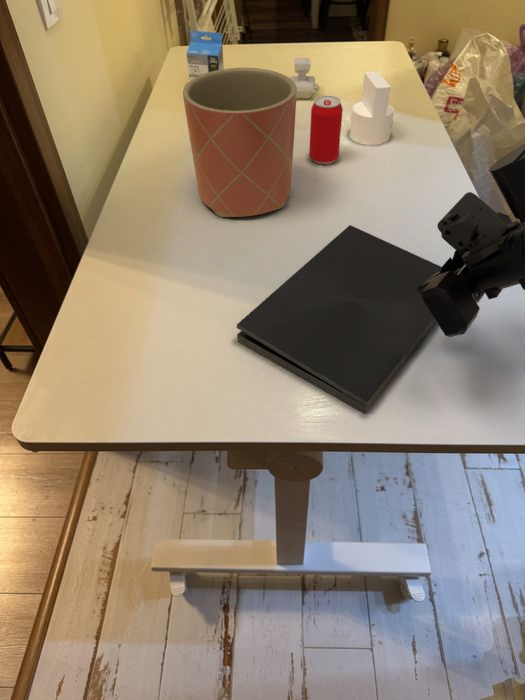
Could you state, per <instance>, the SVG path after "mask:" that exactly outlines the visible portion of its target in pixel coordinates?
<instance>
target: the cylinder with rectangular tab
mask: <svg viewBox="0 0 525 700" xmlns="http://www.w3.org/2000/svg"><path fill="white" fill-rule="evenodd" d="M390 93H391V86H390V84H389V83H388V82H387V80H386V79H385V78H384V77H383V75H382V74H381V73H380V72H379V71H366V72H364V75H363V84H362V92H361V99H360V101H358V102H356V103H354V104H353V106H352V110H351V117H350V127H349V139H351V140H352V141H354V142H355V143H358V144H360V145H361V144H362V145H364V146H365V145H366V146H377V145H382V144H385V143H387V142H388V141H389V140H390V137H391V131H392V125H393V119H394V113H395V108H394V106H392V105H391V104H390V103H389V101H390V100H389V99H390Z"/></svg>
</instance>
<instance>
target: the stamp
mask: <svg viewBox="0 0 525 700" xmlns="http://www.w3.org/2000/svg"><path fill="white" fill-rule="evenodd" d="M310 70H311V57H294V73H295V74H297V75H290V77H289V78H290V79H291V80H293V82H294V83H295V85H296V88H297V95H296V99H310V98H311V97H312V95H313V94H314V93H315V92H316V91H318V90H320V85H319V84H318V83H316V77H315V76H313V75H307V74H309V73H310Z"/></svg>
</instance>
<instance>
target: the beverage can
mask: <svg viewBox="0 0 525 700" xmlns="http://www.w3.org/2000/svg"><path fill="white" fill-rule="evenodd" d="M341 101H342V100H341V99H340V98H339V97H337V96H334V95H322V96H321V95H320V96H318V97H316V98H315V99H314V100H313V103H312V105H311V109H310V127H309V129H310V130H309V152H308V155H309V158H310V160H311V161H313V162H315V163H316V164H319V165H328V164H332V163H333V162H335V161H336V160H337V159H339V155H340V143H341V132H342V123H343V122H342V121H343V106H342V102H341Z"/></svg>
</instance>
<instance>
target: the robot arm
mask: <svg viewBox="0 0 525 700" xmlns="http://www.w3.org/2000/svg"><path fill="white" fill-rule="evenodd" d="M488 172H489V174H490V175H491V177H492V179H493V181H494V183H495V184H496V186H497V188H498V190H499V191H500V194H501V196H502V197H503V199H504V201H505V203H506V204H507V205H508V208H509V210H510V211H511V213H512V215H513V217H514V218H515V219H516V220H514V221H512V219H511V217H510V215H508V214H506V213H502V212H499V211H498V212H496V211H495V210H494V209H493V208H492V207H490V206H489V205H488V204H487V203H486V202H485V201H484V200H483V199H481V198H480V197H479V196H478V195H477V194H475V192H474V193H473V192H470V191H469V192H466V193H464V195H462V197H461V198H460V199H459V200H458V201H457V202H456V203H455V204H454V206H453V207H451V208H450V209H449V211H448V212H447V213H446V214H445V215H444V216H443V217H442V218H441V219H440V220H439V221H438V222H437V229H438V231H439V233H440V234H441V238H442V240H444V241H445V242H446V243H447V244H448V245H449V246H450V247H452V248H453V249H454V250H455V251H454V254H453V256H452V257H451V256H450V257H449V258H448V259H446V261H445V263H443V265H442V266H441V269H440V271H439V272H437V273H436V274H434V275H433V276H432V277H430V278H429V279H427V280H426V281H424V282H423V283H422V284H420V285H419V286H418V287H417V290H418V292H419V293H420V294H421V295H422V299H423V301H424V303H425V304H426V306H427V307H428V309H429V310H430V312H431V314H432V315H433V317H434V318H435V320H436V323H437V325H438V327H439V328H440V330H441V331H442V333H443V334H444V336H445V337H448V338H452V337H453V338H454V337H456V336H461V335H465V334H466V332H467V331H468V329H469V328H471V325H472V324H473V322H474V321H475V320H476V318H477V317H478V314H479V312H480V309H481V308H480V306H479V304H478V303H480V302H481V300H482V298H483V297H484V296H486V297H487V299H488V300H492V299H496V298H497V297H498V296H499V295H500V294H501V292H502V291H503V290H504V289H507V288H510V287H514V286H517V285H520V286H521V289H522V290H523V291H525V143H523V144H521V145H520V146H518V147H517V148H515V149H513V150H512V151H511V150H510V152H508V153H507V154H505V155H504V156H503V157H501V158H499V159H498V160H497V161H496V162H494V163H493V164H492V165H491V166H490V167H489V169H488Z"/></svg>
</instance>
